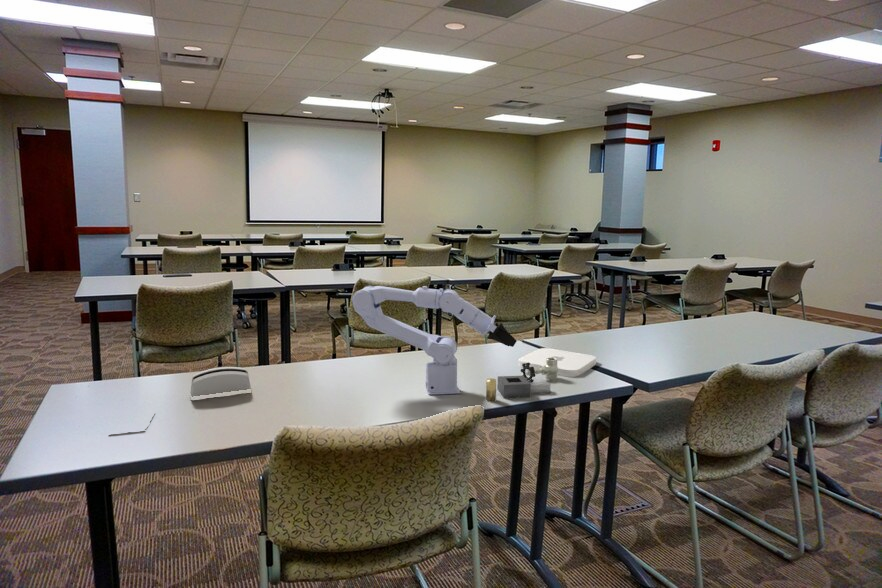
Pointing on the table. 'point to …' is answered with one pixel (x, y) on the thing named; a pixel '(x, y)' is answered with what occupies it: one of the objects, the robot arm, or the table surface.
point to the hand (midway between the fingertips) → (512, 343)
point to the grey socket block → (520, 387)
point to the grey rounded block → (220, 381)
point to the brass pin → (491, 389)
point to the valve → (541, 370)
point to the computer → (560, 361)
